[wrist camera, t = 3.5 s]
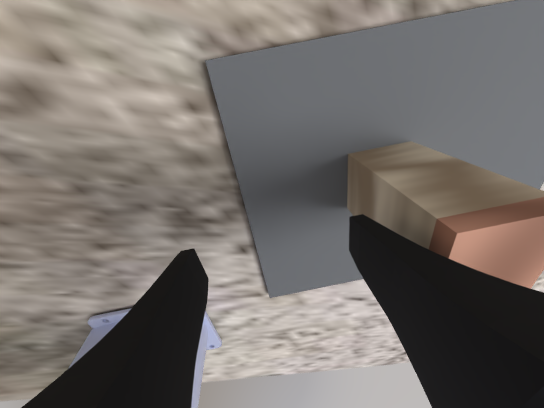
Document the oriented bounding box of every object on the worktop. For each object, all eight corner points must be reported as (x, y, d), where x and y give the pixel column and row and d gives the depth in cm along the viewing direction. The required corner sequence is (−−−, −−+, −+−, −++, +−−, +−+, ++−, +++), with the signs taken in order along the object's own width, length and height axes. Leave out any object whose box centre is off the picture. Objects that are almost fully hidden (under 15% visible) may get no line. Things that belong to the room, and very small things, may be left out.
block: (347, 207, 15) (430, 312, 9) (348, 153, 13) (457, 233, 7) (402, 196, 15) (528, 291, 9) (411, 141, 13) (586, 206, 7)
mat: (269, 293, 20) (269, 298, 19) (206, 61, 11) (205, 60, 10) (502, 245, 20) (508, 249, 20) (637, -23, 11) (653, -27, 10)
